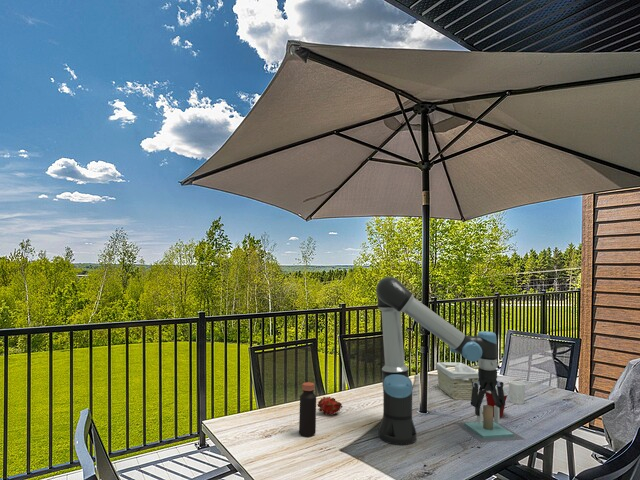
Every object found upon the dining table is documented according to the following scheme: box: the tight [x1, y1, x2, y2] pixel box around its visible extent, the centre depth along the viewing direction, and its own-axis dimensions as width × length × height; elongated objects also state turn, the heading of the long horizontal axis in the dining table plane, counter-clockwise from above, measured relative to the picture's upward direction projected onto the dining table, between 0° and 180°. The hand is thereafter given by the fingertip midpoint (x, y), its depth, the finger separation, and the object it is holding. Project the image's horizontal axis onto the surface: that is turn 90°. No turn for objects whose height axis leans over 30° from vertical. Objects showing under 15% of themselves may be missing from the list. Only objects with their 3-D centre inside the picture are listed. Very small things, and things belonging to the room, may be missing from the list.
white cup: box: [508, 380, 526, 405], centre depth 207 cm, size 8×8×10 cm
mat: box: [454, 420, 525, 443], centre depth 168 cm, size 20×20×1 cm
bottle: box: [298, 381, 317, 438], centre depth 162 cm, size 7×7×20 cm
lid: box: [464, 404, 514, 438], centre depth 168 cm, size 14×14×10 cm
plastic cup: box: [485, 388, 509, 419], centre depth 186 cm, size 11×11×12 cm
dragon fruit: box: [316, 396, 343, 416], centre depth 184 cm, size 8×8×12 cm
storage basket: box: [435, 361, 480, 400], centre depth 221 cm, size 24×16×15 cm
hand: (488, 422), depth 168 cm, fingers open, 8 cm apart
